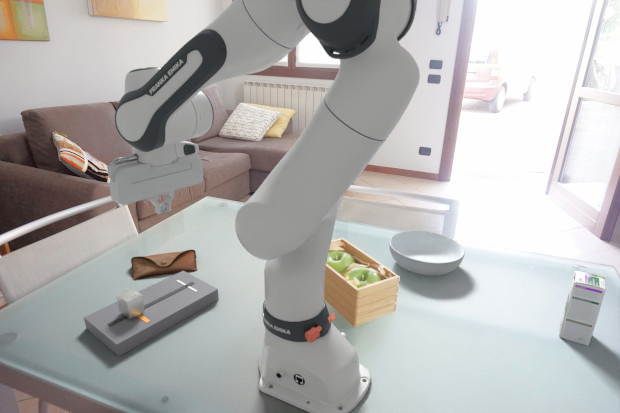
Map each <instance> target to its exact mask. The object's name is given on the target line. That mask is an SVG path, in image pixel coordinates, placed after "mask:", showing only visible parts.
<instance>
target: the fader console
mask: <svg viewBox="0 0 620 413" xmlns="http://www.w3.org/2000/svg"><path fill="white" fill-rule="evenodd" d="M138 292H139V293H140V294H142V296H143V302H144V308H145V312H143V313H142V314H140V315H138V316H136V317H134V318H132V319H129V318H127V317H126V316H125V315H123V314H122V313H120V312H119V307H118V302H117V301H116V302H114V303H112V304H109V305H107V306H105V307H103V308H101V309H98V310H96V311H94V312H93V313H90V314H88V315H86V316H84V317H83V320H84V324H85V329H86V330H88V331H89V332H90V333H91V334H92V335H93V336H94V337H95V338H97V339H98V340H99V341H101V343H103V344H104V345H105V346H106V347H107V348H108V349H110V350H111V351H112V352H113V353H115V355H117V357H121V356H122V355H124V354H126V353H128V352H129V351H131V350H132V349H133V350H134V348H136V347H138V346H140V345H141V344H143V343H145V342H148V341H149V340H150V339H152V338H154V337H155V336H157V335H159V334H162V332H165V331H166V330H168V329H169V328H171V327H173V326H174V325H177V324H179V323H180V322H182V321H183V320H185V319H187V318H188V317H190V316H192V315H194V314H196V313H198V312H199V311H201V310H202V309H204V308H206V307H208V306H210V305H212V303H215V302H217V301H218V300H219V298H220V297H219V288H217V287H215V286H213V285H211V284H209V283H207V282H206V281H203V279H202V280H201V279H200V278H198V277H196V276H194V275H192V274H190V273H189V272H185V271H181V272H179V273H174V274H173V275H171V276H169V277H166V278H164V279H162V280H160V281H158V282H156V283H153V284H151V285H150V286H147V287H145V288H143V289H141V290H138Z"/></svg>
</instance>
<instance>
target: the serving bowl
mask: <svg viewBox="0 0 620 413" xmlns="http://www.w3.org/2000/svg"><path fill="white" fill-rule="evenodd" d="M388 242H389V243H388V245H389V251H390V254H391V257H392V258H393V259H394V261H395V263H397V265H399V266H401V267H402V268H404V269H405V270H408V271H410V272H412V273H415V274H420V275H424V276H442V275H445V274H448V273H451V272H452V271H455V270H456V269H457V268H458V267H459V266H460V265H461V263H462V261H463V259H464V257H465V248H464V247H463V245H462V244H461V243H459V241H457V240H455V239H453V238H452V237H450V236H447V235H445V234H443V233H439V232H434V231H429V230H422V229H421V230H419V229H415V230H412V229H411V230H404V231H400V232H397V233H395V234H393V235H392V236H391V237H390V238H389V241H388Z"/></svg>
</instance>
